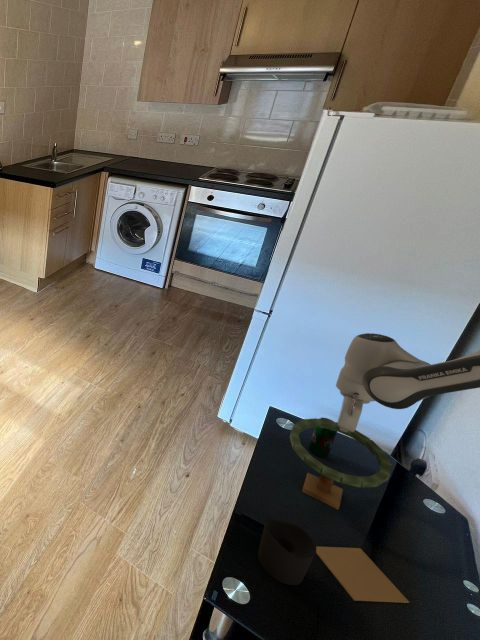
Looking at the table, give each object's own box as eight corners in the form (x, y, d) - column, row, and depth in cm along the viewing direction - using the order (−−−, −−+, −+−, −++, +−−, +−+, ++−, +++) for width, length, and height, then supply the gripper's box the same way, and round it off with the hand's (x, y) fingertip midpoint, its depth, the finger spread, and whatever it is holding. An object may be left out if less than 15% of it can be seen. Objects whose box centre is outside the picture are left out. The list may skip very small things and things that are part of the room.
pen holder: (292, 596, 90) (305, 564, 87) (247, 559, 97) (257, 528, 94) (311, 574, 94) (323, 543, 91) (267, 540, 102) (276, 510, 99)
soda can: (309, 444, 134) (319, 414, 131) (328, 452, 131) (339, 422, 127) (306, 452, 131) (317, 421, 127) (327, 461, 127) (338, 430, 124)
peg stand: (341, 493, 116) (349, 471, 114) (338, 510, 111) (347, 487, 108) (306, 476, 122) (313, 455, 119) (301, 491, 116) (309, 469, 114)
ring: (392, 448, 111) (394, 444, 110) (384, 503, 99) (386, 499, 98) (298, 412, 125) (300, 407, 125) (282, 456, 113) (283, 451, 112)
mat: (359, 549, 100) (360, 548, 100) (409, 603, 89) (409, 602, 89) (311, 547, 101) (311, 546, 100) (353, 600, 89) (354, 599, 89)
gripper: (371, 408, 104) (355, 451, 108) (375, 377, 117) (361, 417, 122) (339, 397, 108) (324, 439, 112) (346, 368, 122) (333, 407, 126)
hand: (343, 427), depth 117 cm, fingers closed on ring, 2 cm apart
